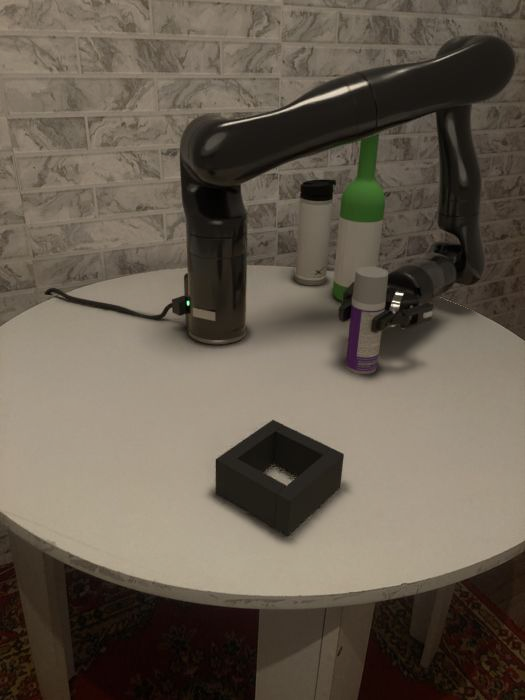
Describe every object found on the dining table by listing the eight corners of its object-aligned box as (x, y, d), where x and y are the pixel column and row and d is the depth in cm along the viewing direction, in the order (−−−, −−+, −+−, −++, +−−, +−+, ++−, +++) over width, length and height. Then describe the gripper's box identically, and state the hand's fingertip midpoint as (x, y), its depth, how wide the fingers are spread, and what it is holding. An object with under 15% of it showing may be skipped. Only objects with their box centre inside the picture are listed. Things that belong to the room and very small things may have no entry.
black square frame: (215, 492, 63) (215, 459, 61) (271, 451, 70) (272, 419, 68) (287, 536, 58) (290, 501, 56) (340, 486, 65) (344, 453, 63)
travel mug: (325, 287, 117) (334, 184, 107) (292, 284, 118) (298, 181, 109) (329, 276, 122) (337, 177, 113) (297, 273, 123) (303, 175, 114)
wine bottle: (376, 306, 109) (398, 134, 95) (333, 304, 109) (350, 132, 95) (369, 290, 116) (390, 127, 102) (330, 289, 116) (344, 126, 102)
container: (342, 359, 91) (351, 265, 84) (372, 358, 91) (384, 265, 84) (348, 374, 87) (359, 277, 80) (380, 374, 87) (393, 277, 80)
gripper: (375, 254, 97) (316, 282, 85) (459, 276, 89) (407, 310, 77) (370, 297, 101) (313, 329, 89) (451, 321, 93) (399, 360, 81)
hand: (357, 320), depth 83 cm, fingers closed on container, 4 cm apart
